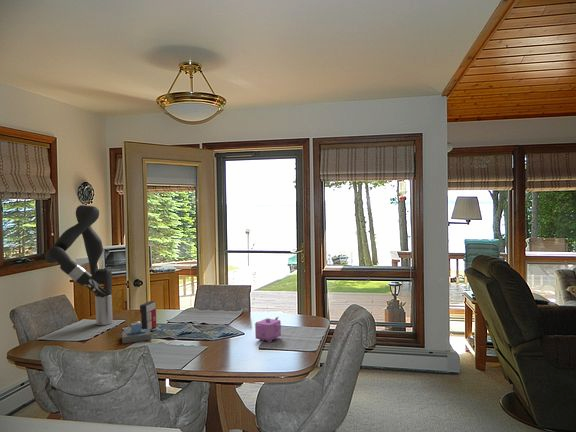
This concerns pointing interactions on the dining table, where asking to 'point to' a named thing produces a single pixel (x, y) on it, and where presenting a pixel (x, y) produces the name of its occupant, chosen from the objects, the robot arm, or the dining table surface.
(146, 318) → the grey red upright box
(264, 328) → the teapot
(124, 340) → the chassis
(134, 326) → the servo
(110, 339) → the dining table surface
